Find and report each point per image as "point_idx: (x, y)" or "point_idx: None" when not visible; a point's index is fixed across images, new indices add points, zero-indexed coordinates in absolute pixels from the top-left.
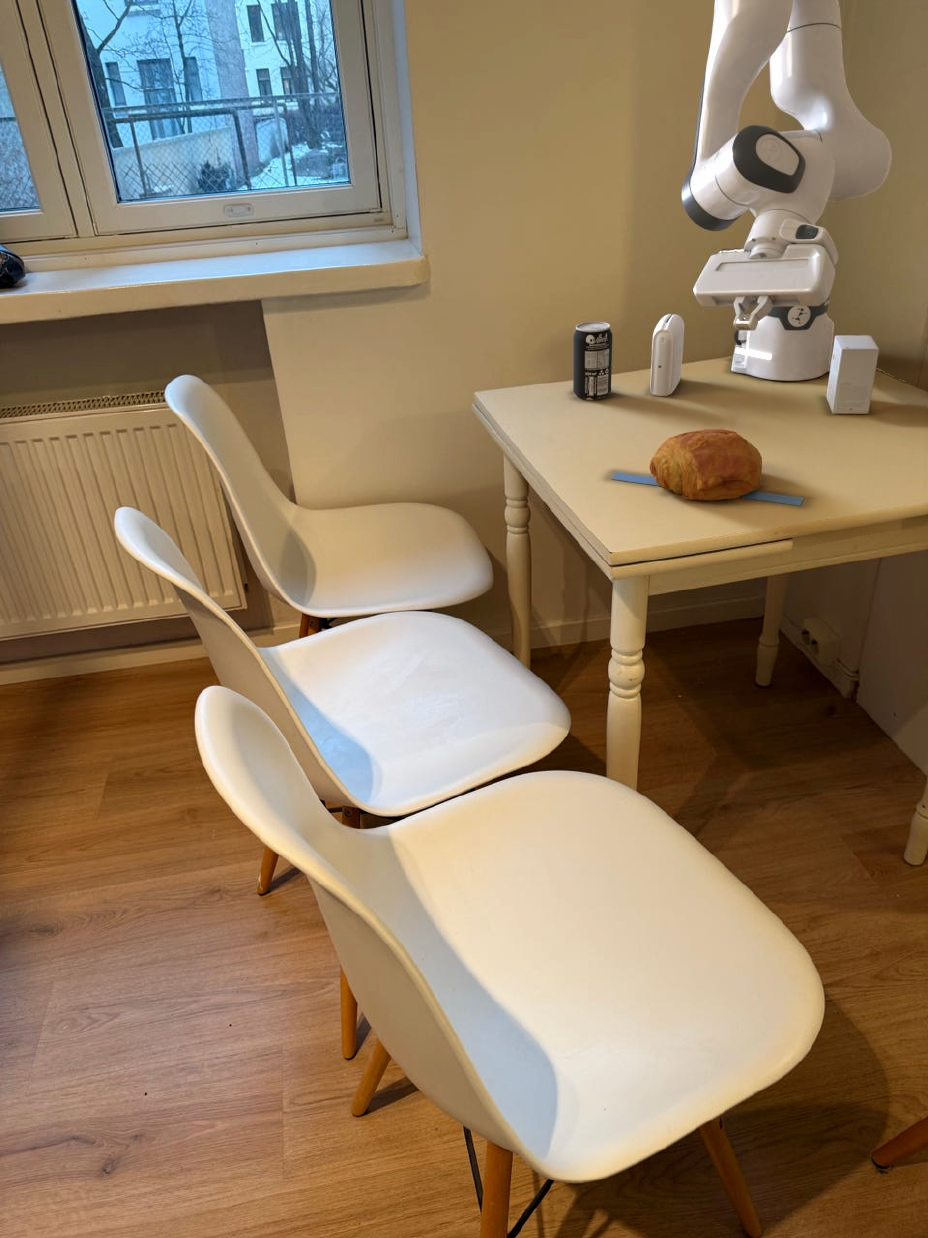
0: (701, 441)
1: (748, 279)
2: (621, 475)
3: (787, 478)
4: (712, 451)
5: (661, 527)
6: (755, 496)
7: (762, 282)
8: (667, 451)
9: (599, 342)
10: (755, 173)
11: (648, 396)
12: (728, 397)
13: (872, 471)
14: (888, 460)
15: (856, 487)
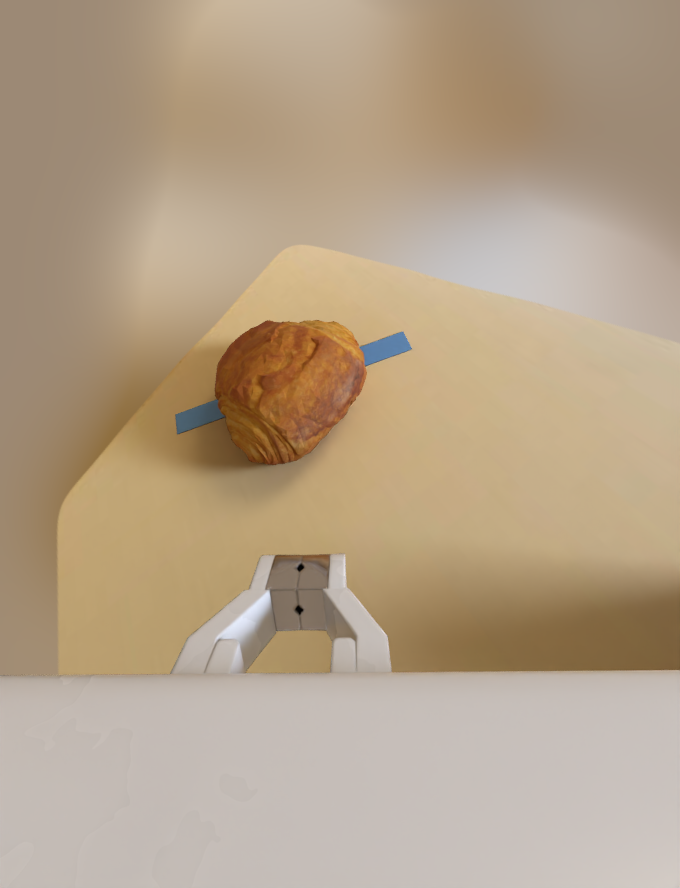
0: (276, 335)
1: (321, 815)
2: (400, 345)
3: (213, 474)
4: (255, 336)
5: (280, 291)
6: None
7: (177, 764)
8: (325, 326)
9: None
10: None
11: None
12: None
13: (116, 572)
14: (100, 635)
15: (128, 504)
